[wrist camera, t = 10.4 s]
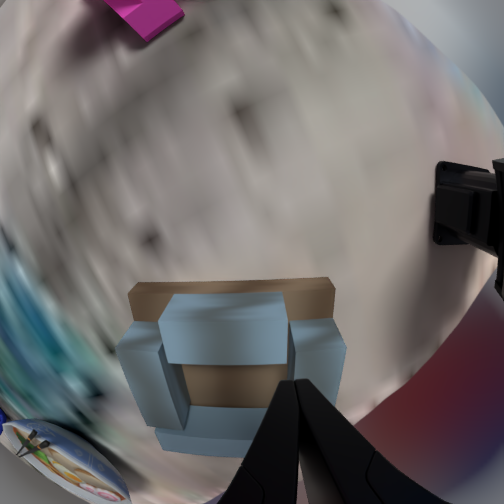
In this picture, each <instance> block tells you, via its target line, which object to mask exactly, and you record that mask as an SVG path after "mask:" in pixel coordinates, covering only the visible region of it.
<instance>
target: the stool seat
mask: <svg viewBox="0 0 504 504" xmlns="http://www.w3.org/2000/svg"><path fill="white" fill-rule="evenodd" d="M128 298H129V302H130V306H131V310H132V314H133V318H134V322H133V323H132V325H131V326H130V327H129V329H128V330H127V332H126V333H125V335H124V336H123V337H122V339H121V340H120V342H119V343H118V345H117V346H116V347H115V350H116V353H117V356H118V359H119V361H120V364H121V367H122V369H123V372H124V374H125V377H126V379H127V382H128V384H129V387H130V389H131V392H132V394H133V396H134V398H135V401H136V403H137V405H138V407H139V410H140V412H141V414H142V416H143V418H144V420H145V422H146V424H147V426H151V427H158V428H165V429H173V430H182V431H183V429H184V425H185V421H186V417H187V413H188V409H189V405H193V406H205V407H224V408H268V406H269V404H270V402H271V399H272V397H273V395H274V392H275V390H276V388H277V385H278V383H279V381H280V380H289V379H292V380H293V381H294V380H295V379H302V378H307V379H309V380H310V381H311V382H312V383H313V384H314V385H315V386H316V387H317V389H318V390H319V391H320V392H321V393H322V394H323V395H324V396H325V397H326V398H327V399H328V400H329V401H330V402H331V403H332V405H333V406H334V407H335V403H336V399H337V394H338V390H339V385H340V380H341V375H342V370H343V365H344V360H345V355H346V349H347V347H346V345H345V343H344V341H343V338H342V336H341V334H340V332H339V330H338V328H337V326H336V324H335V322H334V319H333V310H334V300H335V287H334V286H333V284H332V282H331V281H330V279H329V278H328V277H320V278H299V279H276V280H249V281H213V282H138V283H137V284H136V285H135V286H134V287H133V288H132V289H131V290H130V292H129V293H128Z"/></svg>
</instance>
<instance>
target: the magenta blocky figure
mask: <svg viewBox="0 0 504 504" xmlns="http://www.w3.org/2000/svg"><path fill="white" fill-rule="evenodd" d="M103 1H105V2H106V3H107V4H108V5H109V6H110V7H111V8H112V9H113V10H114V11H115V12H116V13H118V14H119V15H120V16H121V17H122V18H123V19H124V20H125V21H126V22H127V23H128V24H129V25H130V26H131V27H132V28H133V29H134V30H135V31H136V32H137V33H138V34H139V35H140V36H141V37H142V38H143V39H144V40H145V41H146V42H148V41H149V40H150V39H152V38H153V37H154V36H156V35H157V34H158V33H160V32H161V31H162V30H164V29H165V28H166V27H168V26H169V25H171V24H172V23H173V22H175V21H176V20H178V19H179V18H181V17H182V16H184V15H185V14H184V12H183V10H182V9H181V8H180V7H179V6H178V4H177V3H176V2H175V1H174V0H103Z"/></svg>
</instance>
